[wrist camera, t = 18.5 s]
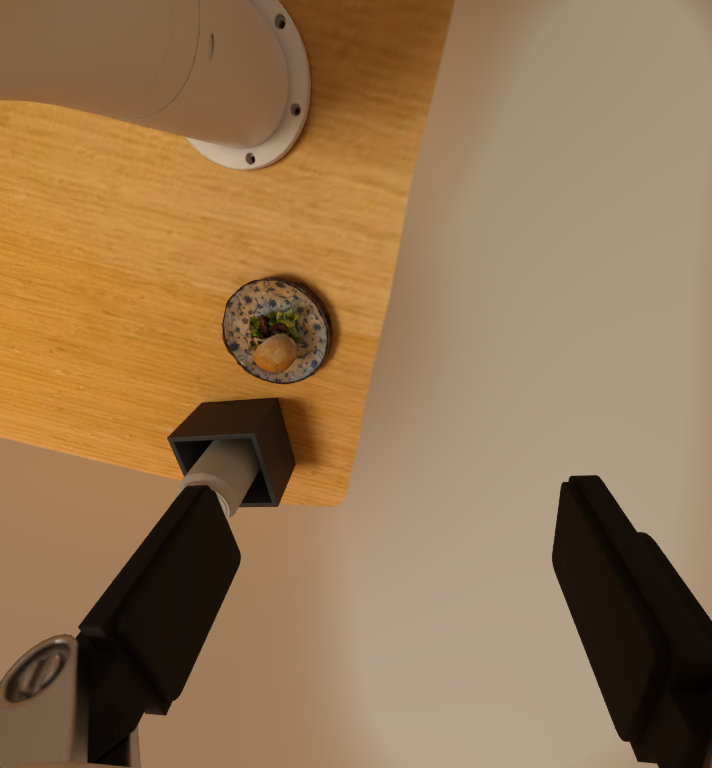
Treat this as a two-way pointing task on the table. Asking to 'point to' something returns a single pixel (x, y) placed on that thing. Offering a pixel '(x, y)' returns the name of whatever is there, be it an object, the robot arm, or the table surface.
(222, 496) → the beverage can
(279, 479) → the bin
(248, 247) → the table surface
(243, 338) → the burger on plate
